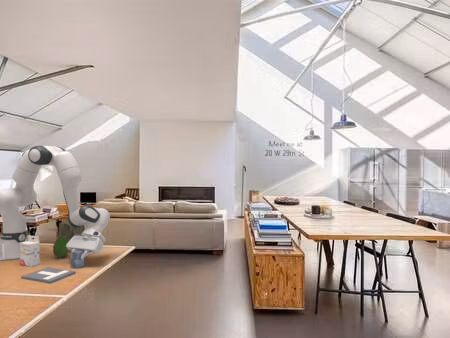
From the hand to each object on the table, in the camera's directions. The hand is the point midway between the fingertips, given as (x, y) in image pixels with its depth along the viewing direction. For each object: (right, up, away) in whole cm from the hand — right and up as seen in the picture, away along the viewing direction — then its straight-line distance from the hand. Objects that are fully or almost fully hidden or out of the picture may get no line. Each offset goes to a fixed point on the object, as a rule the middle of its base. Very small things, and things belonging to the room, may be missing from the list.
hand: (76, 258), depth 159 cm
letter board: (-7, -5, -13) cm, 15 cm away
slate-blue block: (0, -5, +1) cm, 5 cm away
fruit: (-17, -5, +17) cm, 25 cm away
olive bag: (-20, -5, +34) cm, 40 cm away
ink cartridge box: (-26, -5, +4) cm, 27 cm away
